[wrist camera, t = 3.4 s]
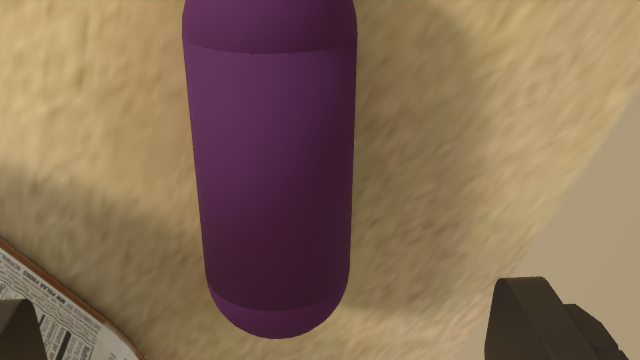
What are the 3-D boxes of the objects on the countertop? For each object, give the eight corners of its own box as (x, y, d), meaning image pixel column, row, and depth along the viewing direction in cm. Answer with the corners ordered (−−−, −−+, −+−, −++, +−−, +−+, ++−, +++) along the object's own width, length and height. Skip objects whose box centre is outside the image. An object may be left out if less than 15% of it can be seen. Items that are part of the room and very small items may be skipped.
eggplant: (349, -129, 16) (377, -128, 12) (340, 277, 22) (356, 367, 18) (179, -130, 16) (150, -130, 12) (216, 283, 21) (205, 375, 18)
